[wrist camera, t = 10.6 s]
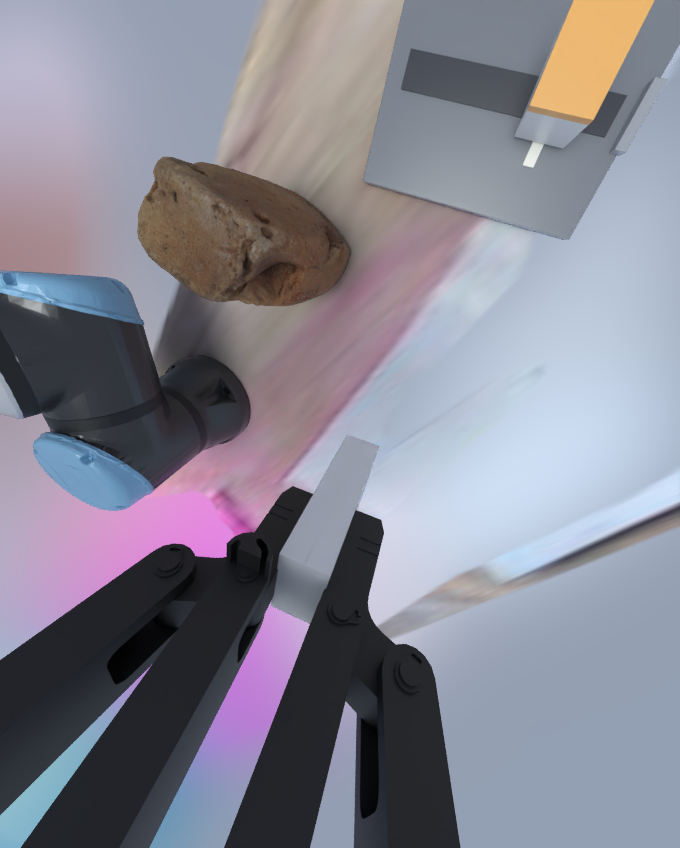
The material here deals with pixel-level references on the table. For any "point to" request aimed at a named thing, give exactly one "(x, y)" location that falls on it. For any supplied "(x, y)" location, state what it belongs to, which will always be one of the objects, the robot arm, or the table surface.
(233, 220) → the brown rounded upright piece
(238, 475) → the table surface
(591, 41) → the fader tab
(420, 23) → the console board
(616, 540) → the table surface
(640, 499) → the table surface
